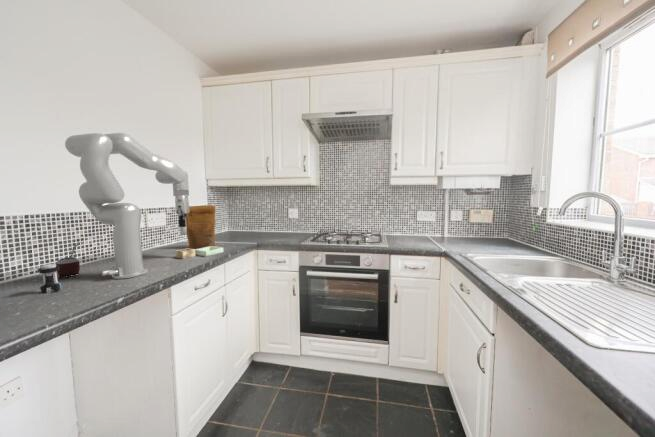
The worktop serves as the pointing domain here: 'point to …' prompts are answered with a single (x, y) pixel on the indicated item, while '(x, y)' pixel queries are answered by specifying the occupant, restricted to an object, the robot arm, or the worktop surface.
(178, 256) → the socket block
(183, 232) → the steel pin
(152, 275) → the worktop surface
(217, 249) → the tray
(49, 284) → the black toy figure
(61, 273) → the manual coffee grinder
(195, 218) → the pancake mix bag
